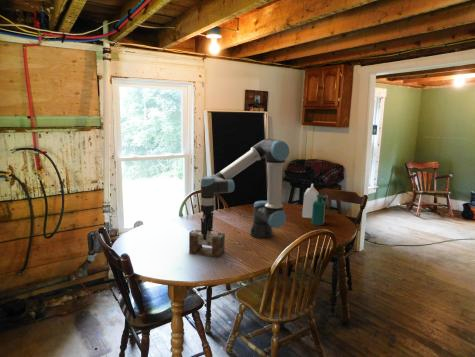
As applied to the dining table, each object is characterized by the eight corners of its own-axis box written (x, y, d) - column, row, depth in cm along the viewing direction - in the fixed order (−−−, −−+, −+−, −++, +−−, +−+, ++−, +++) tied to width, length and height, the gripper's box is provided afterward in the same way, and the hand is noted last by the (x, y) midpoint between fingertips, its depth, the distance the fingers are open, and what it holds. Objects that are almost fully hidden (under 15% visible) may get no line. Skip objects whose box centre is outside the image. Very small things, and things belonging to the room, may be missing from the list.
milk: (316, 218, 261) (319, 186, 256) (301, 217, 265) (304, 185, 260) (317, 214, 272) (320, 183, 267) (303, 213, 276) (305, 182, 271)
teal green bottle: (311, 224, 247) (313, 195, 243) (313, 221, 255) (315, 193, 251) (324, 226, 244) (326, 197, 239) (326, 223, 251) (328, 194, 247)
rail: (224, 245, 191) (224, 235, 190) (221, 247, 187) (222, 237, 186) (192, 240, 197) (192, 230, 195) (189, 242, 193) (189, 232, 192)
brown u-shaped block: (224, 251, 195) (224, 233, 193) (218, 258, 186) (218, 239, 184) (196, 247, 200) (196, 229, 198) (189, 253, 191) (189, 235, 189)
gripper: (207, 200, 196) (206, 237, 201) (194, 207, 180) (194, 247, 185) (218, 201, 194) (218, 239, 199) (207, 208, 178) (207, 249, 183)
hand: (206, 243), depth 192 cm, fingers closed on rail, 4 cm apart
